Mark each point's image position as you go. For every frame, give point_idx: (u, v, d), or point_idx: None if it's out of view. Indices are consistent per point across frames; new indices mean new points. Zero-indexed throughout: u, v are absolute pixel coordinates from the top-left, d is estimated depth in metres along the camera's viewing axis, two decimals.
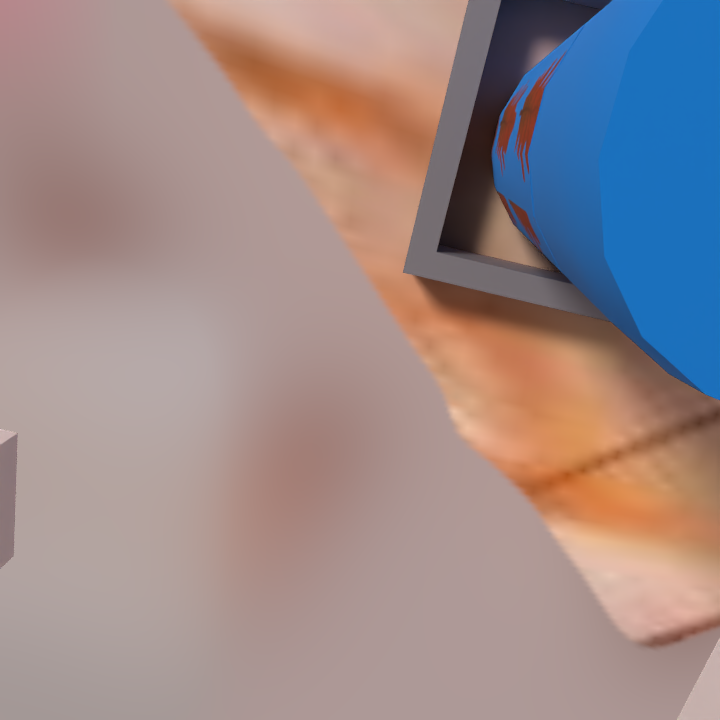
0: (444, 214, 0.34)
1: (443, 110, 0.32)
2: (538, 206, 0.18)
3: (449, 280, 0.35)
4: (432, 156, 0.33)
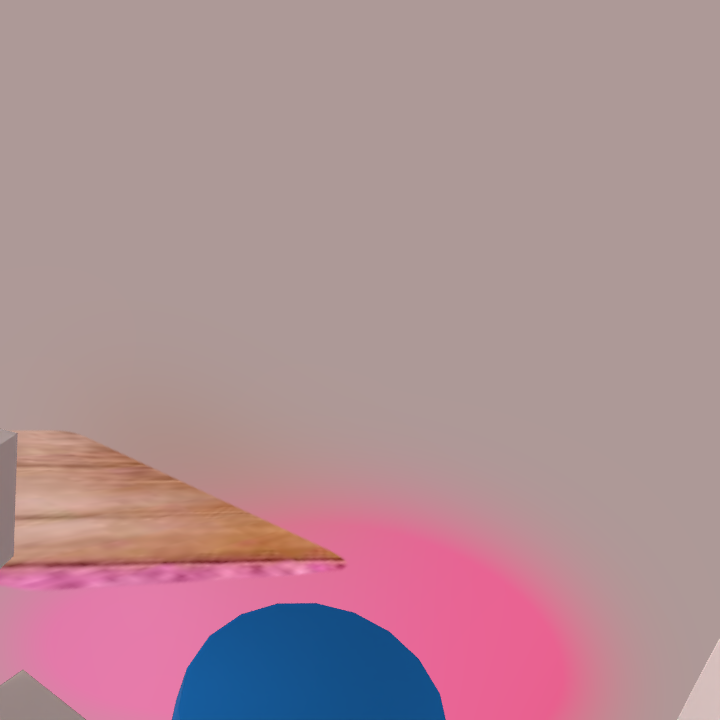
0: None
1: None
2: None
3: None
4: None
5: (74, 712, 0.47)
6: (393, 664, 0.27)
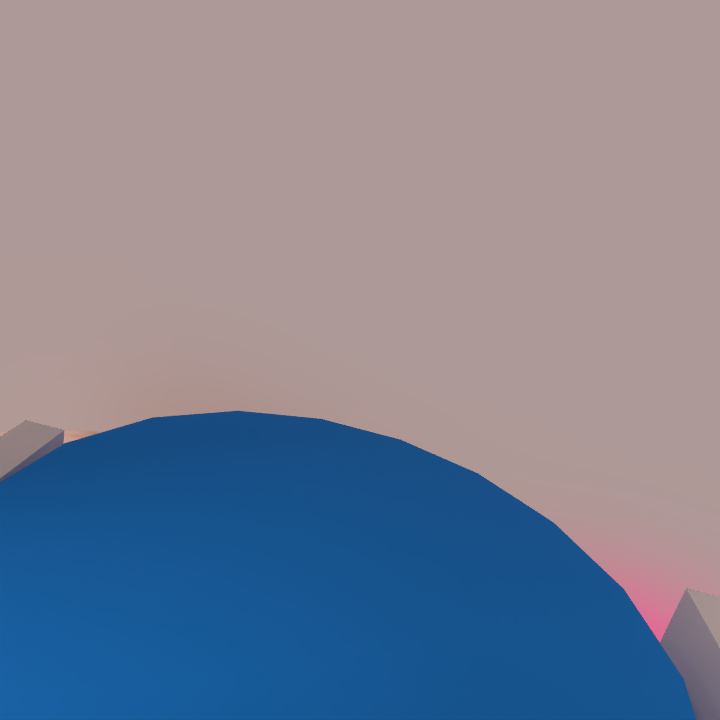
0: None
1: None
2: None
3: None
4: None
5: None
6: (502, 527, 0.12)
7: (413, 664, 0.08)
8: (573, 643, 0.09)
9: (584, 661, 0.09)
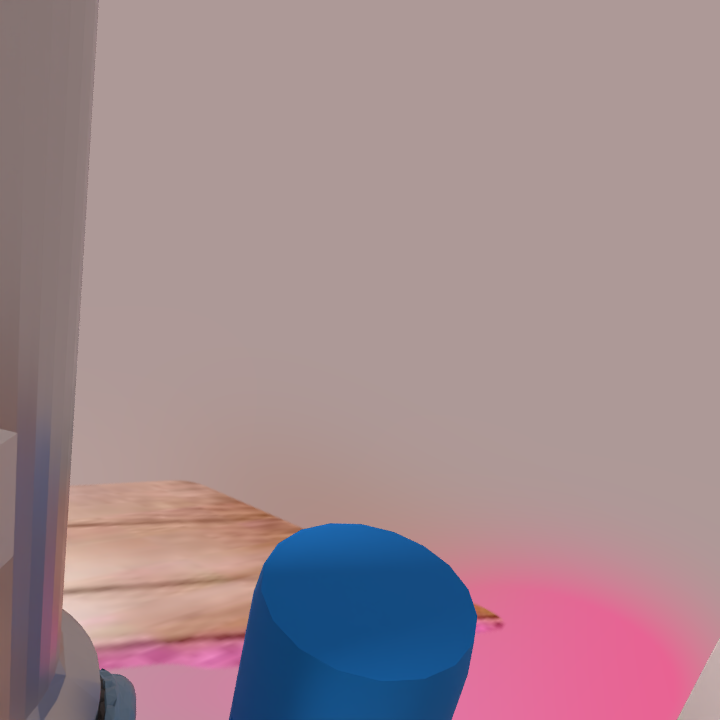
0: None
1: None
2: None
3: None
4: None
5: None
6: (429, 568, 0.33)
7: (393, 610, 0.29)
8: (444, 606, 0.30)
9: (446, 610, 0.30)
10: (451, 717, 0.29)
